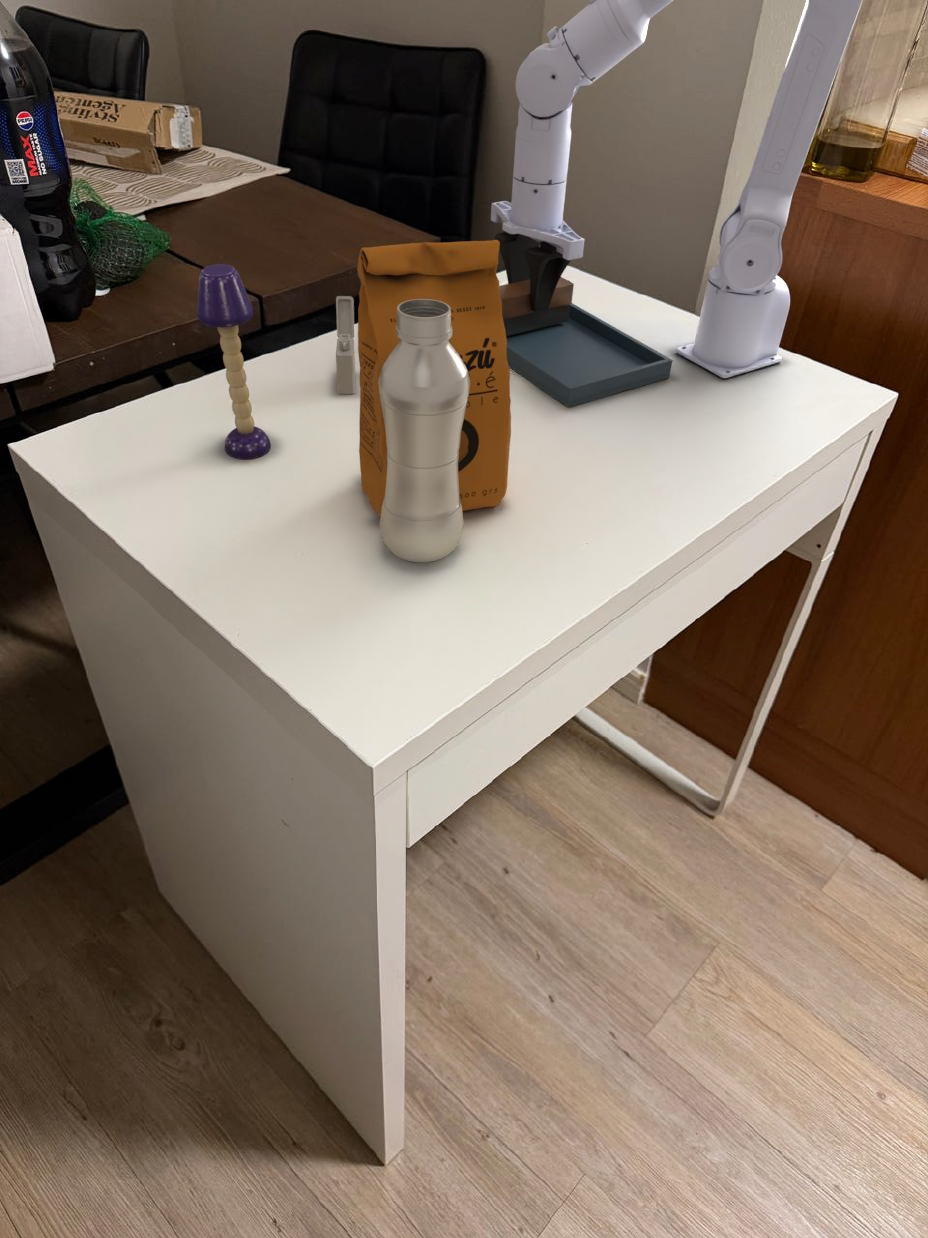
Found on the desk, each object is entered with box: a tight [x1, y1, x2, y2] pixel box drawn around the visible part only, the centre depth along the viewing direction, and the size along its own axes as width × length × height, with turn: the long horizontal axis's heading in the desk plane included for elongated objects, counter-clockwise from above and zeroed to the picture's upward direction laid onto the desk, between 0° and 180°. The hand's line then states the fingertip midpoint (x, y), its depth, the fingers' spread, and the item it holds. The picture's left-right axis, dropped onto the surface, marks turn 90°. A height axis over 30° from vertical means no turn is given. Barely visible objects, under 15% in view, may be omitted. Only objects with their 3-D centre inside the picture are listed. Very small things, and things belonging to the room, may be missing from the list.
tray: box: [506, 302, 674, 408], centre depth 105 cm, size 14×23×2 cm, turn 33°
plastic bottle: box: [378, 299, 470, 563], centre depth 69 cm, size 6×7×20 cm
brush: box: [499, 276, 575, 336], centre depth 106 cm, size 10×4×5 cm, turn 123°
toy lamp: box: [196, 263, 272, 460], centre depth 81 cm, size 5×5×17 cm
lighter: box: [335, 295, 356, 395], centre depth 95 cm, size 7×2×8 cm, turn 4°
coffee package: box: [356, 239, 512, 517], centre depth 74 cm, size 10×12×22 cm
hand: (529, 302), depth 106 cm, fingers closed on brush, 3 cm apart
